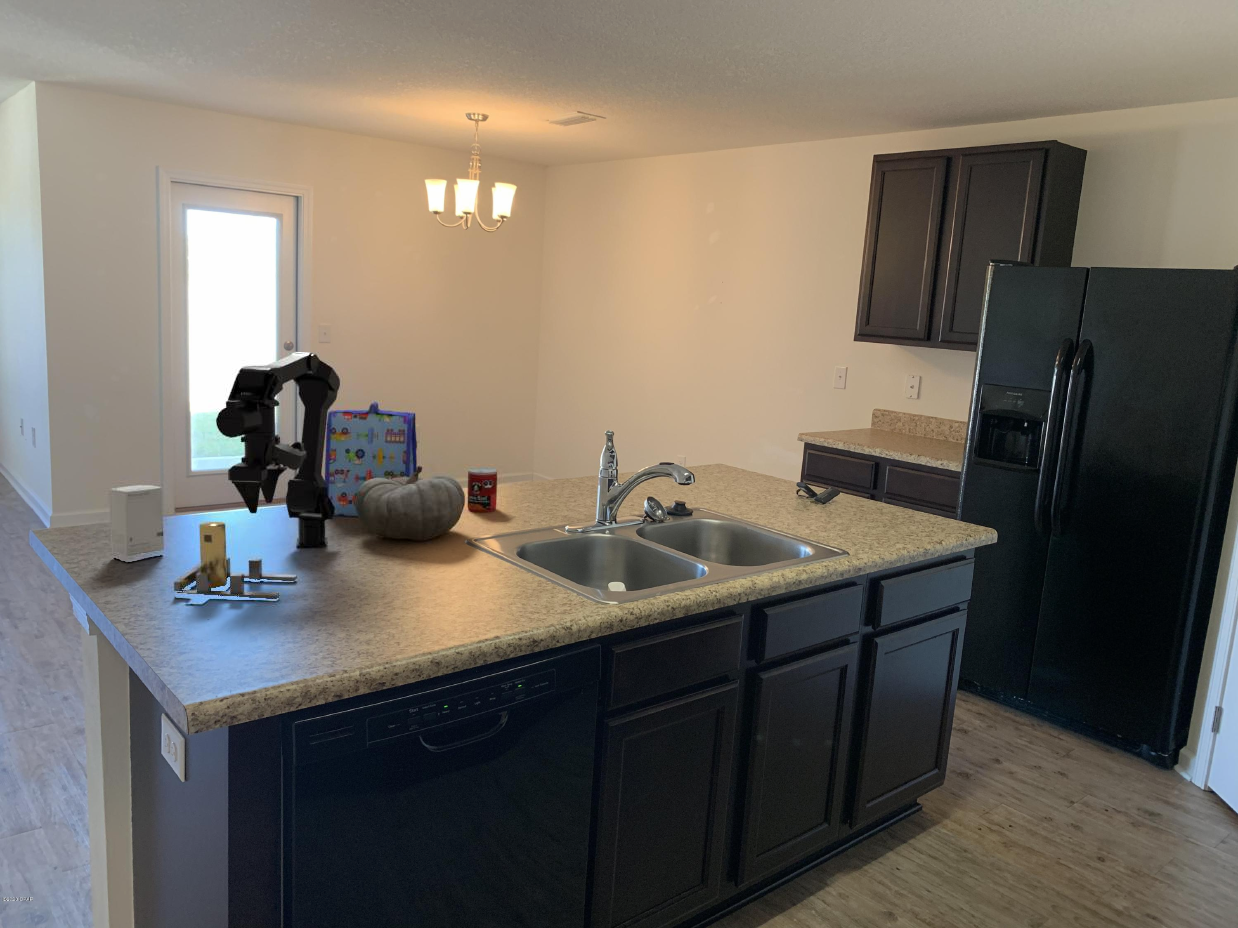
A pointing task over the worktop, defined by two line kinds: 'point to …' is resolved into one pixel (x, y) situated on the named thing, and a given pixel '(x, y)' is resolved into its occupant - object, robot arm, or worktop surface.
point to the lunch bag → (366, 451)
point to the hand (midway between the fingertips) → (261, 507)
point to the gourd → (410, 506)
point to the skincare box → (136, 519)
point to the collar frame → (235, 581)
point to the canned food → (482, 489)
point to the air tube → (213, 552)
